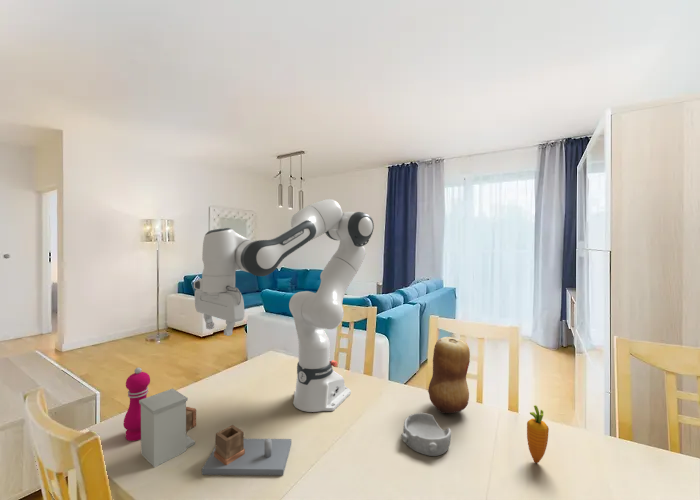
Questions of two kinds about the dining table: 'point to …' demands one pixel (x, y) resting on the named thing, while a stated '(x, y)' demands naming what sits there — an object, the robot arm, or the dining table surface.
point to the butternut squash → (450, 375)
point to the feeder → (163, 427)
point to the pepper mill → (135, 403)
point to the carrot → (537, 435)
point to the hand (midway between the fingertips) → (218, 331)
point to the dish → (425, 434)
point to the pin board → (253, 459)
